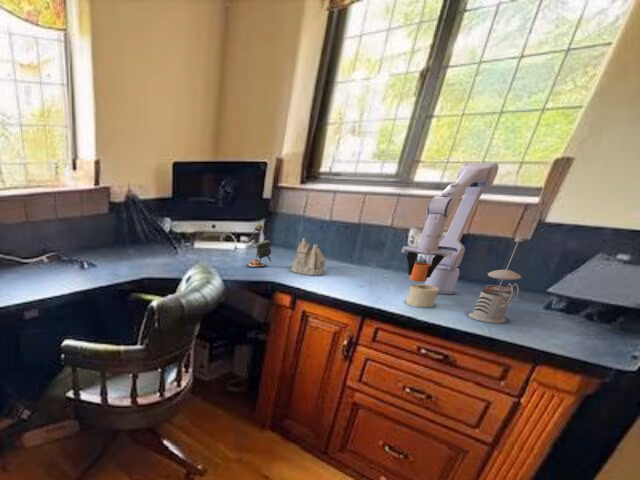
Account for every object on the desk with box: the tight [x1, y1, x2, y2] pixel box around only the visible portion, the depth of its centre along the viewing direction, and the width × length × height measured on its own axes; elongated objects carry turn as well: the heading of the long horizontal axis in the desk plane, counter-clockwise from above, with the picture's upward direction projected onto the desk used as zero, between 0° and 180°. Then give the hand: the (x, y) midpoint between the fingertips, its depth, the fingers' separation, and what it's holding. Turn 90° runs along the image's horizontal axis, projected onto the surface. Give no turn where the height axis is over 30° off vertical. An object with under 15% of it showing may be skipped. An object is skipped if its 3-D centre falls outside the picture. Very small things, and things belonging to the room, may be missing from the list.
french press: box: [467, 236, 524, 324], centre depth 129 cm, size 10×12×25 cm
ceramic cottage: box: [290, 237, 327, 276], centre depth 190 cm, size 16×16×15 cm
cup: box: [408, 261, 431, 283], centre depth 147 cm, size 5×5×6 cm
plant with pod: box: [247, 222, 272, 268], centre depth 198 cm, size 8×11×20 cm
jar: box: [405, 283, 439, 308], centre depth 148 cm, size 8×8×6 cm
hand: (418, 275), depth 148 cm, fingers closed on cup, 5 cm apart
